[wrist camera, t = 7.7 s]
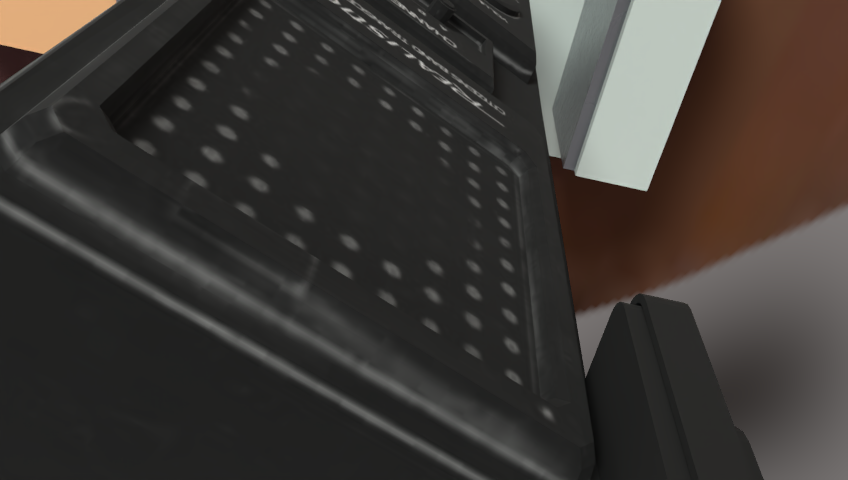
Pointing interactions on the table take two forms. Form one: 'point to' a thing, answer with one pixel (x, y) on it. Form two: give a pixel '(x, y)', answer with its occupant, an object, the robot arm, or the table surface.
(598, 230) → the table surface
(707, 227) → the table surface
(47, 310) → the portable radio
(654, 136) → the vise bed
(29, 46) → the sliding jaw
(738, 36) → the table surface
